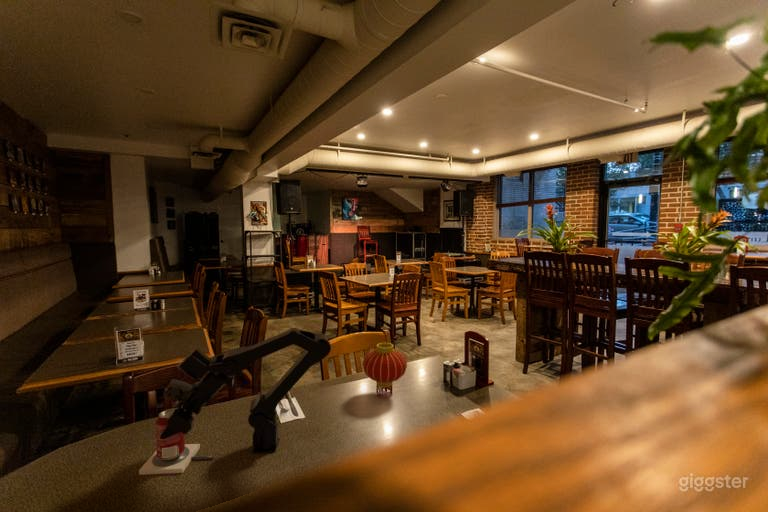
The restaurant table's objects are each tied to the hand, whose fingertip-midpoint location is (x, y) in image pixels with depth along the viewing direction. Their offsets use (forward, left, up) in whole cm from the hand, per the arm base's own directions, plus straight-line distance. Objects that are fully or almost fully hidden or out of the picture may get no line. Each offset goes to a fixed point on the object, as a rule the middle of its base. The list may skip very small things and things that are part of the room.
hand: (165, 431), depth 101 cm
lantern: (-64, -36, -9) cm, 74 cm away
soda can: (-1, 0, -7) cm, 7 cm away
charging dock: (-4, 0, -9) cm, 10 cm away
